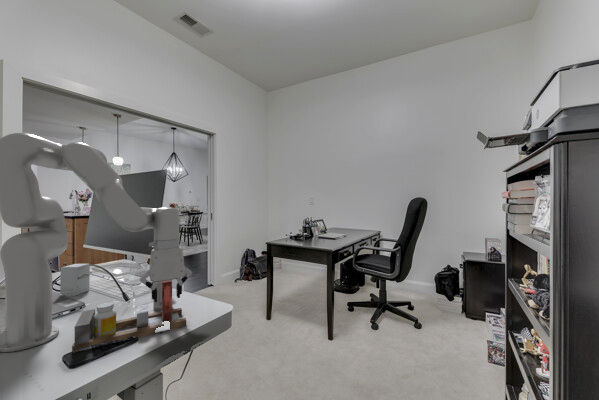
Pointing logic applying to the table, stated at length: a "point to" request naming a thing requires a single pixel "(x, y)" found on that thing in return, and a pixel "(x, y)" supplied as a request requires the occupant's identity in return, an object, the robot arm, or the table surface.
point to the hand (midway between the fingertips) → (167, 298)
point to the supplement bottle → (104, 320)
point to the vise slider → (166, 308)
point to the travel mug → (159, 297)
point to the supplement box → (74, 279)
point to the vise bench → (86, 329)
